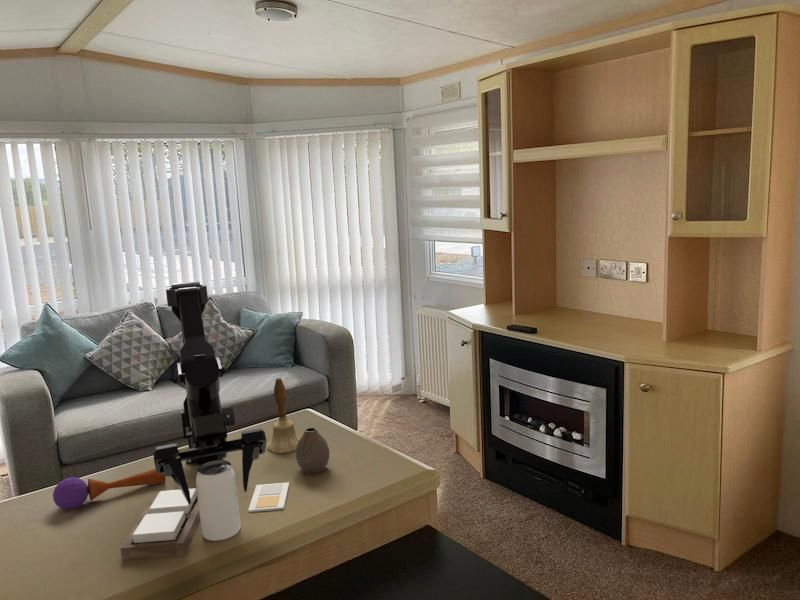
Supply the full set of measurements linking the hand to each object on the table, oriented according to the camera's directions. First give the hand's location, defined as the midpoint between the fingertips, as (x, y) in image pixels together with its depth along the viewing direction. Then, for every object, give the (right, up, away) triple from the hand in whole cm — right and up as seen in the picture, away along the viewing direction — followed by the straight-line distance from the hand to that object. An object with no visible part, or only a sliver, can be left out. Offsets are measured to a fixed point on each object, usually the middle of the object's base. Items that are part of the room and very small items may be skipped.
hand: (218, 497), depth 110 cm
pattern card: (+6, -4, +14) cm, 16 cm away
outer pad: (-10, -6, 0) cm, 11 cm away
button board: (-10, -7, +5) cm, 13 cm away
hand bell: (+5, 0, +38) cm, 38 cm away
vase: (+13, -2, +25) cm, 28 cm away
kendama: (-26, -6, +18) cm, 32 cm away
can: (0, -7, +2) cm, 7 cm away
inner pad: (-10, -4, +8) cm, 14 cm away
